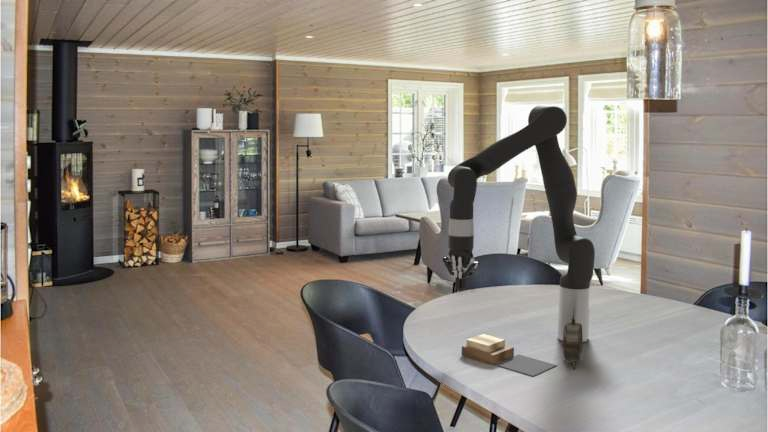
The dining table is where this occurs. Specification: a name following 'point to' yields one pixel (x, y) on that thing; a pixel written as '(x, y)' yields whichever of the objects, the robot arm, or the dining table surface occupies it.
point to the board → (488, 354)
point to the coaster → (485, 343)
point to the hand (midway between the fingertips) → (460, 289)
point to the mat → (525, 365)
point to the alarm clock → (573, 342)
